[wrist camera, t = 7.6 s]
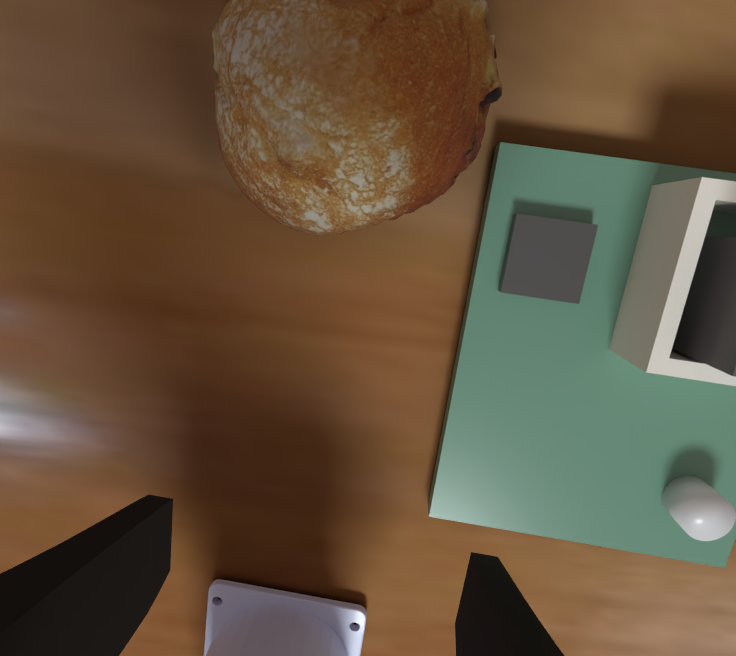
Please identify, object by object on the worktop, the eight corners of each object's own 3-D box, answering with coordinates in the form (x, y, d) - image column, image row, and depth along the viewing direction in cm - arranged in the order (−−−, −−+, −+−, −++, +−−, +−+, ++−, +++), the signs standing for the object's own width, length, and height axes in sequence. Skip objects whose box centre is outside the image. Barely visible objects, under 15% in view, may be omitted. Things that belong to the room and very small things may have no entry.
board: (710, 552, 21) (749, 594, 19) (428, 503, 22) (430, 538, 19) (836, 192, 18) (904, 186, 15) (495, 146, 18) (509, 134, 16)
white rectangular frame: (746, 370, 18) (810, 397, 16) (608, 349, 19) (646, 372, 16) (802, 205, 17) (883, 201, 14) (652, 185, 17) (702, 176, 14)
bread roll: (284, 18, 21) (121, -66, 15) (511, -75, 16) (418, -270, 10) (311, 236, 23) (177, 250, 17) (520, 216, 18) (448, 223, 12)
